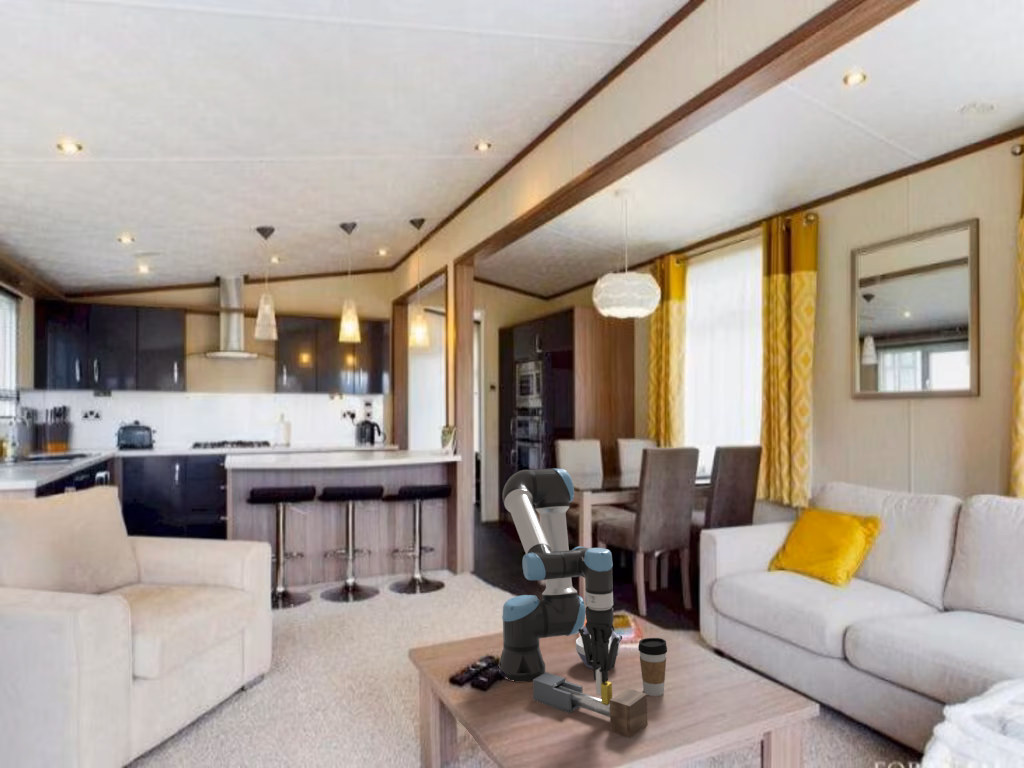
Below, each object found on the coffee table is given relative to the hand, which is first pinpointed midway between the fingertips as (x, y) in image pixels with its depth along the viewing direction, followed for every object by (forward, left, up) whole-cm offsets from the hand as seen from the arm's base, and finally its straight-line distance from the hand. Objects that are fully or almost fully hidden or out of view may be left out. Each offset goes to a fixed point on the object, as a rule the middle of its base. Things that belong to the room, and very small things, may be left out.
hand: (601, 693), depth 181 cm
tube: (-3, 0, -7) cm, 7 cm away
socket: (+8, 0, -7) cm, 10 cm away
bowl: (-20, +30, -7) cm, 37 cm away
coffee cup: (+4, +23, -7) cm, 24 cm away
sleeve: (-14, 0, -7) cm, 16 cm away
